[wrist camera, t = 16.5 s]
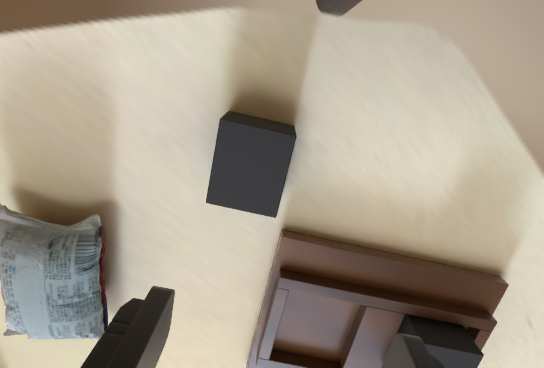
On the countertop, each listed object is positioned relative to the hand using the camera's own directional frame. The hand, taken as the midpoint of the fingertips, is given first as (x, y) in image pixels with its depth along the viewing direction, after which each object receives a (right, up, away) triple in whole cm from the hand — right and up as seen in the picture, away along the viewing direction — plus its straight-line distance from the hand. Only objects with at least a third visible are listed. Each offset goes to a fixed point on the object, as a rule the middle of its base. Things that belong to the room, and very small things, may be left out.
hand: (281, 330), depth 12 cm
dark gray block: (-2, +7, +14) cm, 16 cm away
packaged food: (-18, -2, +18) cm, 25 cm away
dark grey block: (+13, -9, +18) cm, 24 cm away
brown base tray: (+8, -7, +19) cm, 22 cm away
